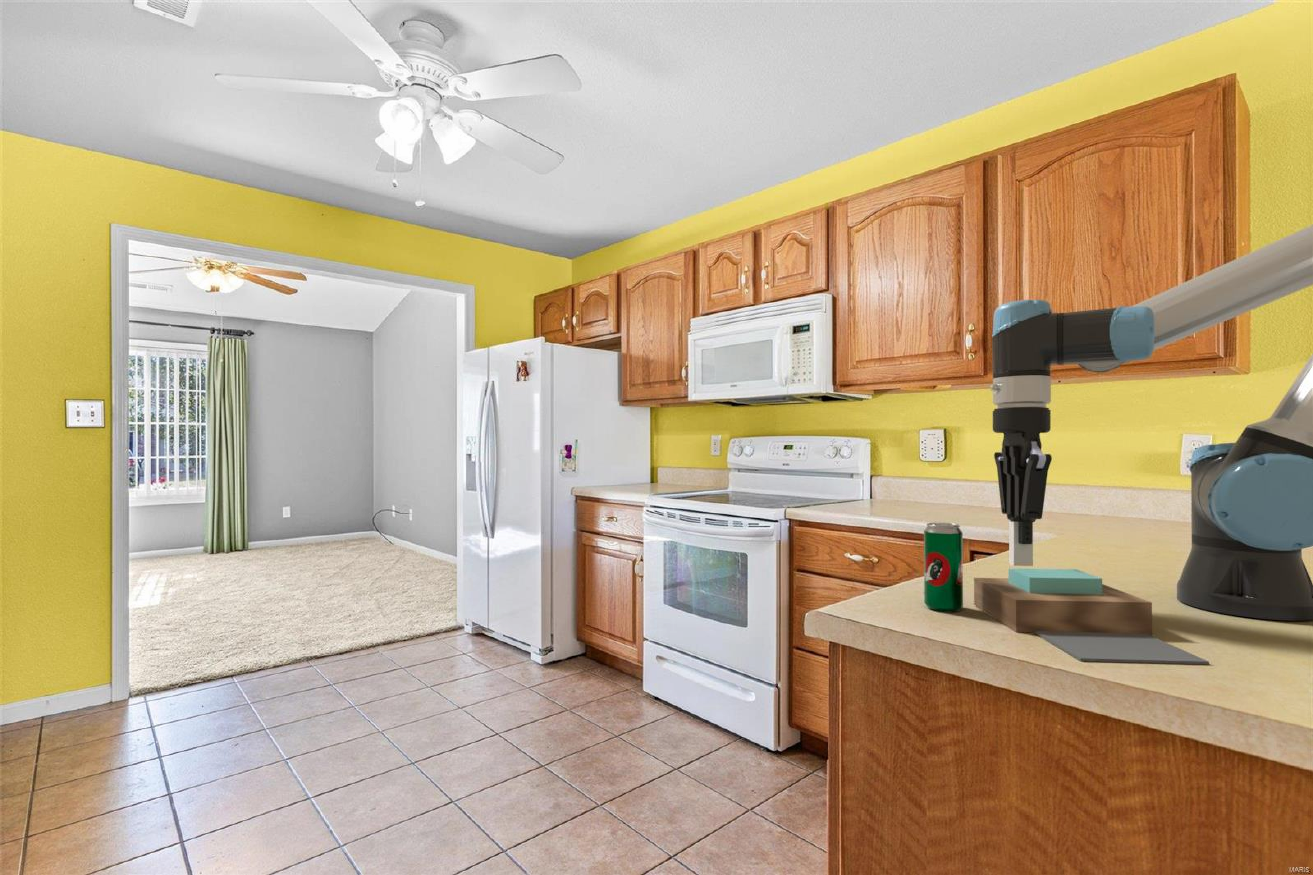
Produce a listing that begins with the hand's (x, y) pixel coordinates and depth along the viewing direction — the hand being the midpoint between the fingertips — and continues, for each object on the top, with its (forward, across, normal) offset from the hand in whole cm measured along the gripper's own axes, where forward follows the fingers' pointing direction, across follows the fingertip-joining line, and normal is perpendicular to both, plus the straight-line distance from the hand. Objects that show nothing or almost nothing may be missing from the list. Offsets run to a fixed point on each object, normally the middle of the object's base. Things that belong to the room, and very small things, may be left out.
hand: (1020, 564), depth 96 cm
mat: (+5, +22, +1) cm, 22 cm away
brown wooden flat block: (+5, +10, 0) cm, 11 cm away
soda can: (+6, +5, -13) cm, 15 cm away
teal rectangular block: (+1, +9, 0) cm, 9 cm away
